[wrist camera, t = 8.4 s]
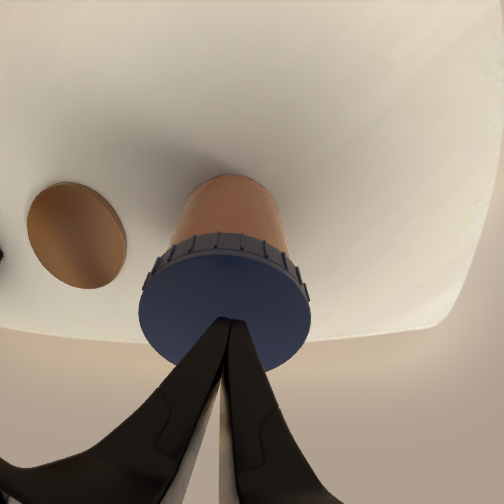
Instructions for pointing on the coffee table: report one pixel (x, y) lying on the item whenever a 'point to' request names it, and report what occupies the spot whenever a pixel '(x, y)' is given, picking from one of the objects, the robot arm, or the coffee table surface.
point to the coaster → (76, 235)
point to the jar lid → (225, 296)
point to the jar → (231, 212)
